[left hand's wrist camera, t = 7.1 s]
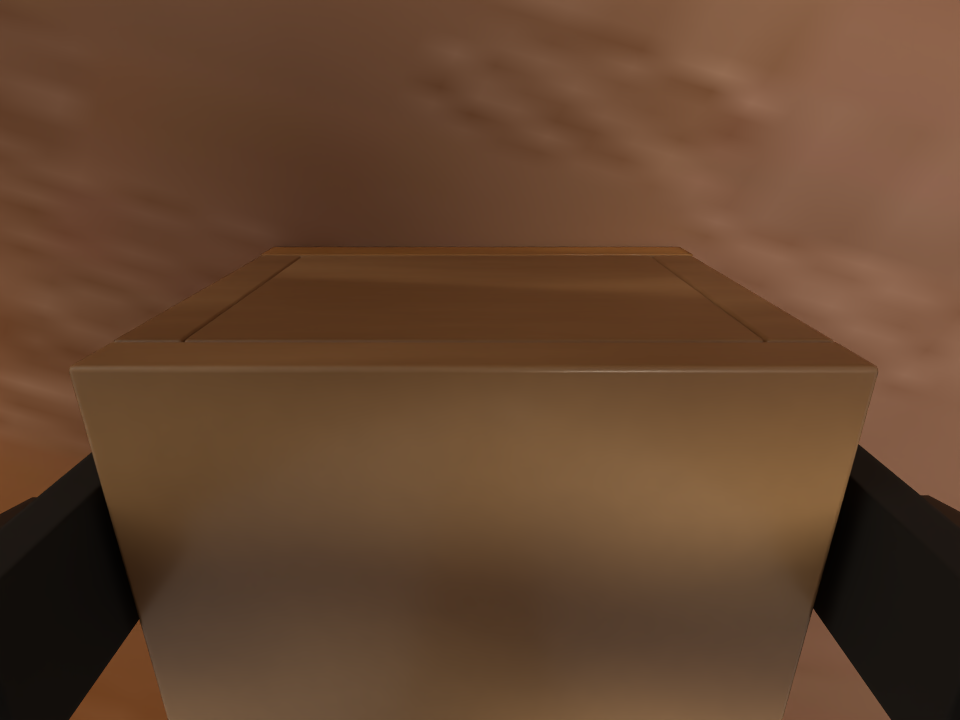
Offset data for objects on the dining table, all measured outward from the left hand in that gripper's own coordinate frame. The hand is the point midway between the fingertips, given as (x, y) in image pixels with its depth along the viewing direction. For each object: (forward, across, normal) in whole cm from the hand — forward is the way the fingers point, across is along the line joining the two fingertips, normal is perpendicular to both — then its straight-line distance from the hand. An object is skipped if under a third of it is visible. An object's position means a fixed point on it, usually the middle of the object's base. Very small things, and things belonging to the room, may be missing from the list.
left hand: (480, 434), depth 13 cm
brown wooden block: (+4, 0, -6) cm, 8 cm away
